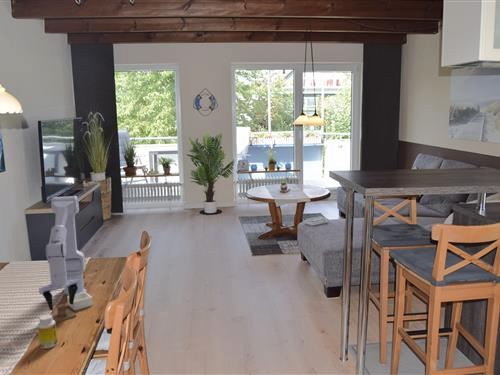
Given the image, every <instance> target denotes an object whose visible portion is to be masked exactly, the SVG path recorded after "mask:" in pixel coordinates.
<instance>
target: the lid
mask: <svg viewBox="0 0 500 375" xmlns="http://www.w3.org/2000/svg"><path fill="white" fill-rule="evenodd" d="M56 307H57V311H55V312H52V313H48V315H52V318H53V320H54V321H55V323H56V324H57V322H58V323H61V322H64V321H67V320H70V318H71V319H73V317H74V318H77V317H76V316H77V314H76V313H75V311H74V310H72V309H71V308H70V307H69V308H67V306H66V304H64V303H62V304H58V305H57V306H56ZM63 320H64V321H63ZM60 321H61V322H60Z"/></svg>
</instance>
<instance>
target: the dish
mask: <svg viewBox="0 0 500 375" xmlns="http://www.w3.org/2000/svg"><path fill="white" fill-rule="evenodd" d="M66 299H67V300H66V301H67V306H68V307H69V309H71V310H72V311H73V312H76V311H79V310H82V309H87V308H89V307H92V306H94V302H93V296H92V295H90V294H89V293H87V292H82V293H79V294H75V297H74V302H73V304H72V305H71V304H70V302H69V296H68V295H67V297H66Z"/></svg>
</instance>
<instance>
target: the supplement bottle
mask: <svg viewBox="0 0 500 375" xmlns="http://www.w3.org/2000/svg"><path fill="white" fill-rule="evenodd" d="M56 324H57V323H55V321H54V320H53V318H52V315H49V314H44V315H42V316H40V317H39V322H38V324H37V332H38V341H39V342H38V343H39V347H40V348H41V349H50V348H53V347H55V346H56V345H57V344H58V336H57V334H58V333H57V325H56Z"/></svg>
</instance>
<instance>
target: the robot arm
mask: <svg viewBox="0 0 500 375" xmlns="http://www.w3.org/2000/svg"><path fill="white" fill-rule="evenodd" d="M50 205H51V210H52V211H53V214H55V221H54V222H55V223H54V226H53V227H51V230H50V235H49V236H50V237H49V242H48V243H47V244H45V245H46V246H45V256H46V259H47V263H48V266H49V274H50V276H49V277H50V284H47V285H45V286H42V287H38V293H39V295H42V296H43V297H44V299H45V301H46V303H47V306H48V308H49V310H50V311H53V310H54V306H53V294H52V292H53V291H57V290H61V291H62V292H63V291H64V292H63V293H64V294H66V295H67V297H68V296H69V302H70V304H71V305H72V304H73V302H74V297H75V294H79V293H82V292H86V293H87V292H88V289H86V288H85V285H84V284H85V283H84V274H83V272H85V270H86V267H87V264H86V262H87V261H86V257H85V253H83V252H81V251H80V250H78V243H77V230H76V220H75V218H76V214H78V213H80V204H79V198H78V196H77V195H72V196H71V195H70V196H69V195H68V196H53V197H51V200H50Z"/></svg>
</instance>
